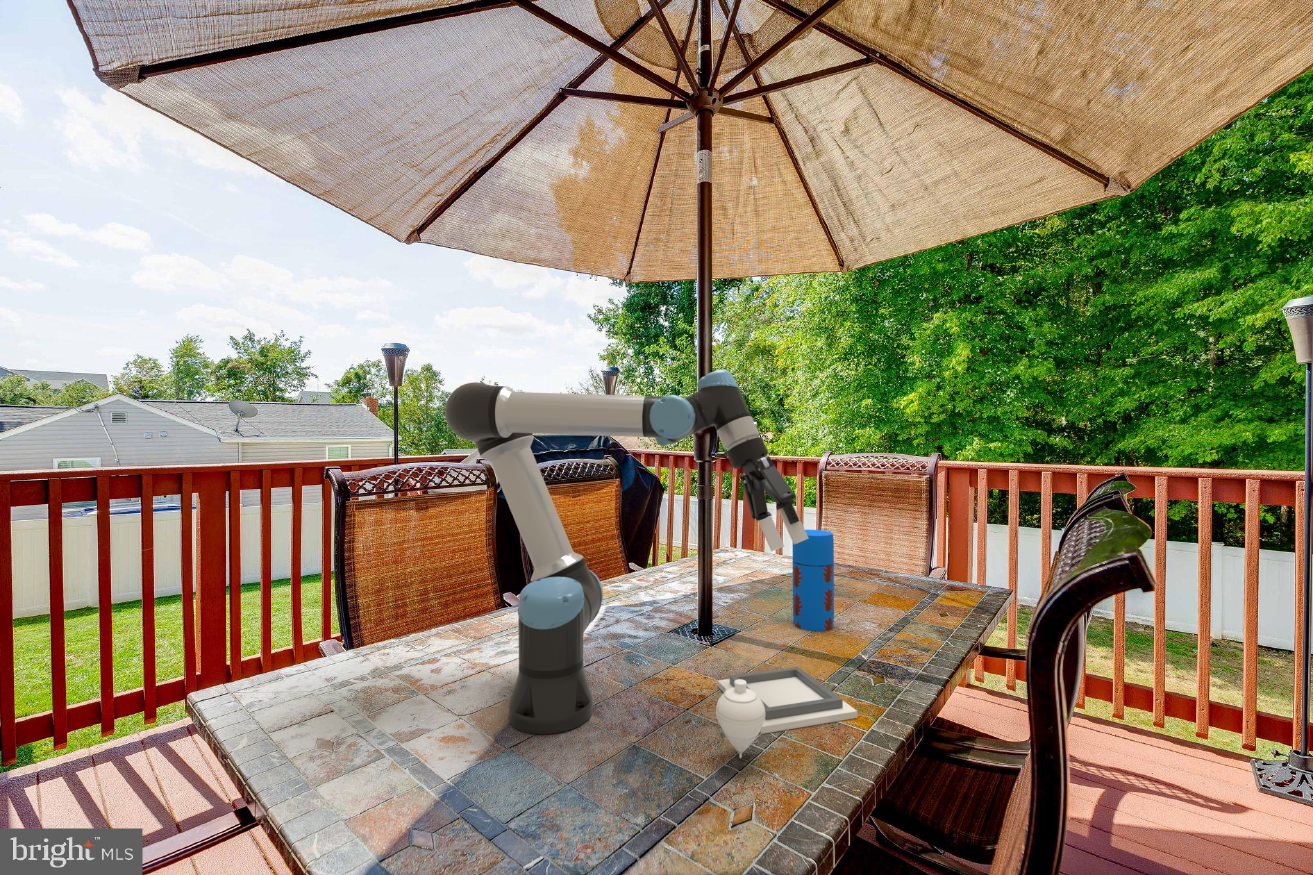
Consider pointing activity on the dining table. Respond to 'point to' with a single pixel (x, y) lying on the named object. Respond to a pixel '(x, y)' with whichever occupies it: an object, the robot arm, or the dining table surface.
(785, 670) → the dock plate
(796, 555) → the thermos
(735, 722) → the spinning top
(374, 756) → the dining table surface
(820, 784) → the dining table surface
